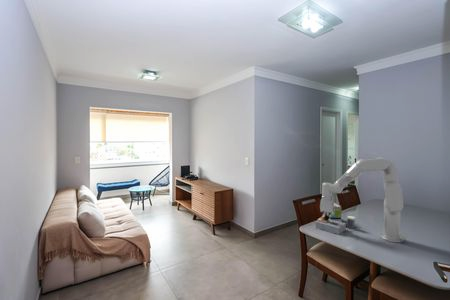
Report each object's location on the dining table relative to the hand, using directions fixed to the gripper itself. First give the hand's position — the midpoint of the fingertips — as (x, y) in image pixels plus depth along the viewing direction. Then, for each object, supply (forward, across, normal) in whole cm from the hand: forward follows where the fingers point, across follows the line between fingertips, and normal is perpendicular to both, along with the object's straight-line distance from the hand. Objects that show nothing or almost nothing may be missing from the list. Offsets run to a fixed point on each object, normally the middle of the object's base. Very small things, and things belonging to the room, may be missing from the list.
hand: (326, 219), depth 182 cm
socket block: (+6, -3, 0) cm, 7 cm away
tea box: (+7, +4, -20) cm, 21 cm away
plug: (+6, -14, -13) cm, 20 cm away
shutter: (+1, +3, 0) cm, 3 cm away
